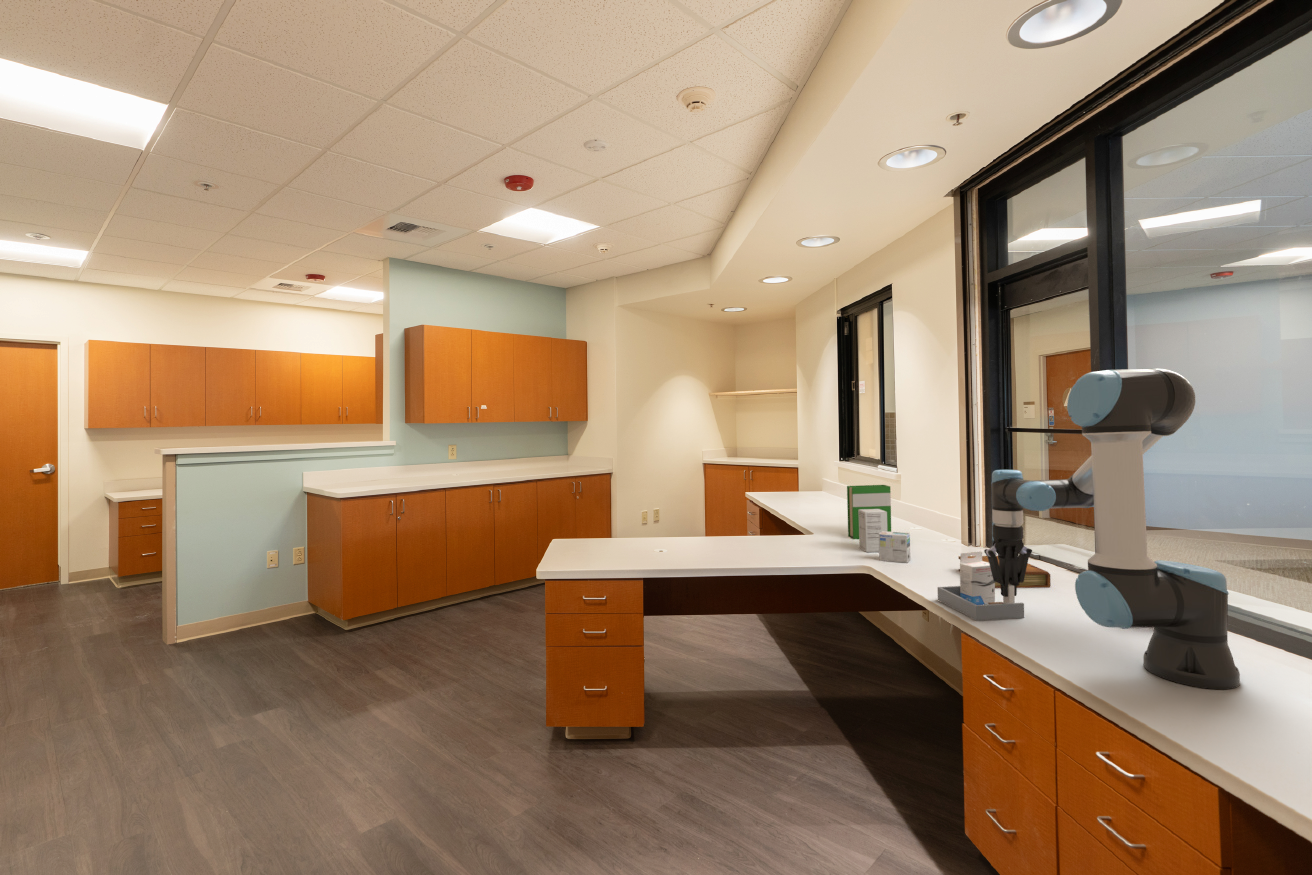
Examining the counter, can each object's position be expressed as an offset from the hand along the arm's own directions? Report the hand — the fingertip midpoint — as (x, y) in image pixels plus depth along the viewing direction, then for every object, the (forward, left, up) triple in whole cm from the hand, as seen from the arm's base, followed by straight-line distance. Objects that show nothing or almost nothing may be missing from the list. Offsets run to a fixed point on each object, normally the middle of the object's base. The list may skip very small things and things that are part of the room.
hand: (1008, 607), depth 168 cm
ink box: (+9, +3, -1) cm, 10 cm away
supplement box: (+83, +2, -1) cm, 84 cm away
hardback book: (+109, -8, -2) cm, 110 cm away
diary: (+32, -20, -2) cm, 38 cm away
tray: (+4, +6, -1) cm, 7 cm away
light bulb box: (+64, +2, -2) cm, 65 cm away
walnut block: (0, +3, -2) cm, 3 cm away
